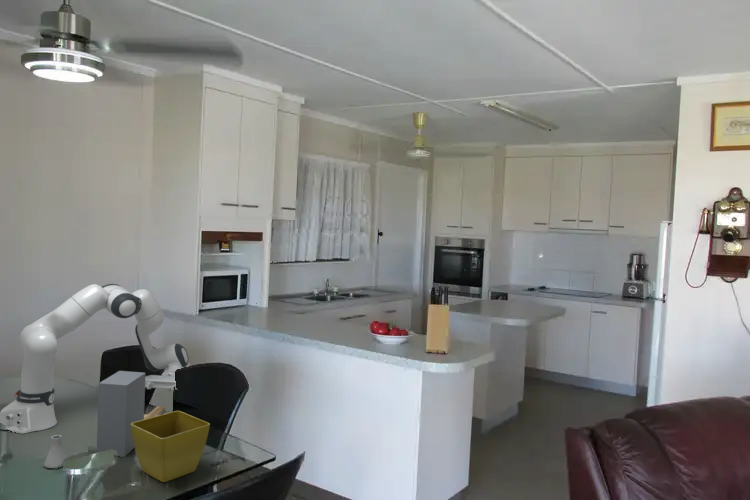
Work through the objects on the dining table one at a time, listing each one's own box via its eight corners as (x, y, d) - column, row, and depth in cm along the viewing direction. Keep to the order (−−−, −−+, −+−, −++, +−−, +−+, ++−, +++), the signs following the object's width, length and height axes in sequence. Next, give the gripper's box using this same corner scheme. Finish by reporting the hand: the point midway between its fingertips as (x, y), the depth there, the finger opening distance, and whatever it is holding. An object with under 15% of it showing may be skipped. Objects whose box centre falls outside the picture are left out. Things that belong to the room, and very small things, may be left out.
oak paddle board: (124, 429, 238) (124, 424, 238) (147, 410, 260) (147, 405, 260) (154, 431, 237) (154, 426, 237) (174, 412, 259) (175, 407, 259)
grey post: (96, 454, 213) (98, 383, 211) (117, 437, 229) (119, 370, 227) (124, 457, 213) (126, 385, 211) (143, 439, 229) (145, 372, 227)
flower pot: (127, 471, 203) (129, 422, 201) (176, 454, 218) (178, 409, 217) (160, 490, 191) (162, 439, 190) (209, 471, 206) (211, 423, 205)
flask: (57, 471, 199) (58, 442, 199) (38, 468, 201) (39, 439, 200) (72, 462, 206) (73, 434, 206) (54, 459, 208) (54, 431, 207)
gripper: (148, 370, 269) (135, 379, 255) (194, 373, 268) (183, 382, 254) (148, 383, 269) (135, 393, 255) (193, 386, 269) (182, 396, 255)
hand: (159, 388), depth 255 cm, fingers open, 8 cm apart
